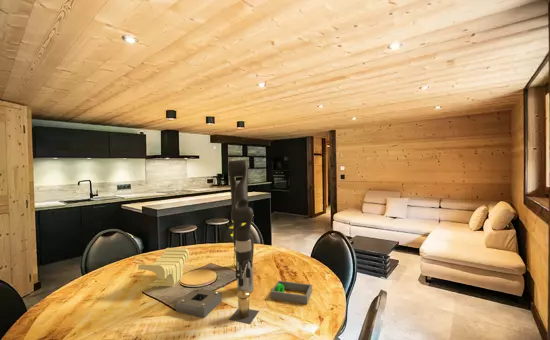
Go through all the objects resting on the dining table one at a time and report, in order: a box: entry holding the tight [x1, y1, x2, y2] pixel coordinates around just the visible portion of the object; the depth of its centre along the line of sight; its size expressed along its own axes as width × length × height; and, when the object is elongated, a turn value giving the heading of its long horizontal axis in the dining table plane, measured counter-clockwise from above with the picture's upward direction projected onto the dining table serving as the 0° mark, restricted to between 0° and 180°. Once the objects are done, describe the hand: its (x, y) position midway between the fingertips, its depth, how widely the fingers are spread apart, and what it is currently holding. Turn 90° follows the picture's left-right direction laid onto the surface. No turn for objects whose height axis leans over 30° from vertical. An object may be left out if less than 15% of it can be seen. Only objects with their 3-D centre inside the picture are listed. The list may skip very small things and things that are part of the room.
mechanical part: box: [275, 283, 285, 292], centre depth 145 cm, size 12×6×8 cm, turn 140°
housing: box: [175, 287, 222, 319], centre depth 134 cm, size 16×16×6 cm
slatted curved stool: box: [137, 247, 190, 287], centre depth 161 cm, size 30×16×18 cm, turn 173°
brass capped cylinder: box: [236, 290, 251, 318], centre depth 126 cm, size 6×6×11 cm
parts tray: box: [270, 280, 313, 305], centre depth 145 cm, size 14×20×4 cm
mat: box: [228, 308, 260, 325], centre depth 126 cm, size 11×11×1 cm
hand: (244, 281), depth 126 cm, fingers open, 8 cm apart
